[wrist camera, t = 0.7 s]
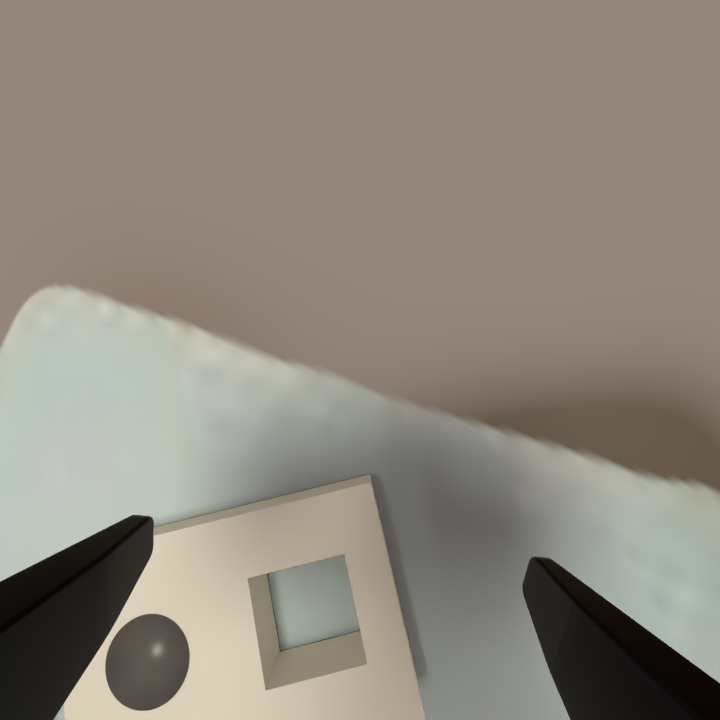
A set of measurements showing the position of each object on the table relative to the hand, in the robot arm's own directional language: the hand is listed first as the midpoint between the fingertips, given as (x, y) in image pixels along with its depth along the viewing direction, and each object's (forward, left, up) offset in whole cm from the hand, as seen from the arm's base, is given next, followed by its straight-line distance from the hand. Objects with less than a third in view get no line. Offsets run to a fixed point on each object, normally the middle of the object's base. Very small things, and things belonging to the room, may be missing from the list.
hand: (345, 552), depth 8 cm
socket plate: (-7, +8, -14) cm, 18 cm away
